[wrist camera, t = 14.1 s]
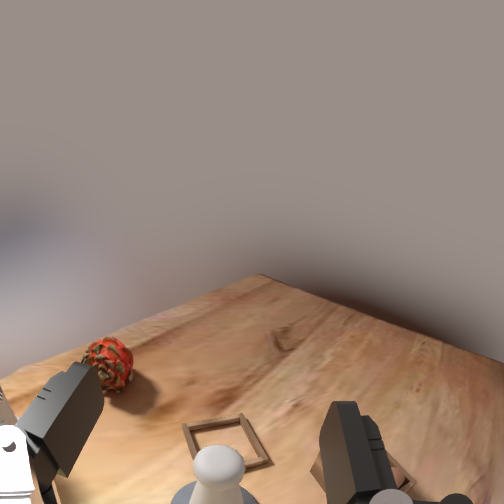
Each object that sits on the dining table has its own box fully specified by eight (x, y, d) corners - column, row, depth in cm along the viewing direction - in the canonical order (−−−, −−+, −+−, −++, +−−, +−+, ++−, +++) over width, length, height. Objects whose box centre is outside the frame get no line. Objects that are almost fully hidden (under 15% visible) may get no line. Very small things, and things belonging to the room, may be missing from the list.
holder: (241, 417, 41) (242, 413, 41) (267, 462, 33) (268, 459, 33) (181, 428, 37) (181, 423, 37) (200, 478, 30) (200, 475, 29)
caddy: (346, 455, 34) (368, 414, 31) (390, 507, 25) (425, 472, 22) (309, 471, 32) (329, 430, 29) (354, 530, 22) (387, 499, 19)
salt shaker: (244, 496, 27) (257, 437, 23) (241, 535, 22) (255, 491, 18) (193, 490, 27) (189, 429, 23) (186, 529, 22) (177, 482, 18)
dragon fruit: (117, 415, 39) (105, 375, 48) (155, 381, 41) (136, 346, 51) (75, 384, 35) (72, 346, 45) (115, 347, 37) (104, 315, 47)
